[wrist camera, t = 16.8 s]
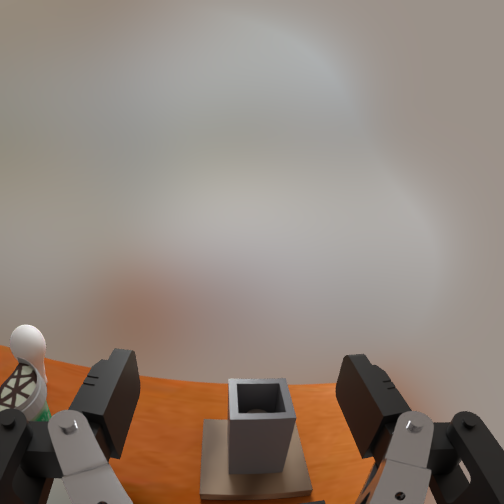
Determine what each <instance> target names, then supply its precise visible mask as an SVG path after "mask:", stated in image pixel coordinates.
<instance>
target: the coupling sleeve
mask: <svg viewBox="0 0 504 504" xmlns="http://www.w3.org/2000/svg"><path fill="white" fill-rule="evenodd" d="M252 409H261V410H264V411H266V412H267V413H247V412H248V411H250V410H252ZM295 421H296V415H295V411H294V407H293V404H292V400H291V396H290V393H289V389H288V385H287V382H286V379H285V378H280V379H229V383H228V425H227V444H228V472H229V474H263V473H280V472H283V468H284V465H285V461H286V457H287V453H288V450H289V446H290V442H291V438H292V434H293V429H294V425H295Z"/></svg>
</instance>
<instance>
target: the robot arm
mask: <svg viewBox="0 0 504 504" xmlns="http://www.w3.org/2000/svg"><path fill="white" fill-rule="evenodd" d="M139 395H140V379H139V374H138V367H137V361H136V356H135V352H134V351H133V350H124V349H114V350H113V352H112V354H111V355H110V357H109V359H108V360H100V361H99V362H98V363H96V364H95V365H94V366H92V368H91V370H90V372H89V373H88V375H87V377H86V378H85V380H84V382H83V384H82V386H81V387H80V389H79V391H78V393H77V395H76V396H75V398H74V400H73V402H72V404H71V406H70V407H69V409H68V410H63V411H60V412H58V413H56V414H54V415H53V416H52V417H51V418H50V420H49V421H28V420H27V418H26V416H25V415H24V413H23V412H21V411H20V410H18V409H13V408H10V409H5V410H2V411H0V504H46V503H47V500H48V496H49V493H50V489H51V487H52V484H53V480H54V478H62V480H63V483H64V486H65V488H66V491H67V493H68V495H69V498H70V500H71V502H72V504H133V503H132V501H131V500H130V498H129V497H128V495H127V493H126V492H125V490H124V489H123V487H122V485H121V484H120V482H119V480H118V479H117V477H116V475H115V473H114V472H113V470H112V468H111V466H110V465H109V463H108V462H109V459H110V457H111V458H116V459H120V457H121V454H122V450H123V447H124V443H125V440H126V437H127V434H128V430H129V427H130V424H131V421H132V417H133V414H134V411H135V408H136V405H137V402H138V399H139ZM336 398H337V401H338V403H339V405H340V408H341V410H342V412H343V414H344V417H345V419H346V421H347V424H348V426H349V428H350V431H351V433H352V435H353V438H354V440H355V442H356V445H357V447H358V449H359V452H360V454H361V457H362V459H363V458H368V457H374V459H375V462H374V464H373V466H372V468H371V470H370V473H369V475H368V477H367V479H366V482H365V484H364V486H363V488H362V490H361V492H360V495H359V497H358V499H357V501H356V502H355V504H424V501H425V497H426V493H427V489H428V485H429V487H430V489H431V492H432V494H433V496H434V498H435V500H436V503H437V504H504V450H503V449H502V448H501V446H500V445H499V443H498V442H497V440H496V439H495V438H494V436H493V435H492V434H491V432H490V431H489V429H488V428H487V427H486V425H485V424H484V423H483V421H482V420H481V419H480V417H478V416H477V415H476V414H473V413H471V412H467V411H465V412H464V411H463V412H459V413H457V414H456V415H455V416H454V417H453V419H452V421H451V422H449V423H433V422H432V420H431V419H430V418H429V417H428V416H427V415H425V414H423V413H421V412H417V411H412V410H411V409H410V408H409V406H408V404H407V403H406V402H405V400H404V399H403V397H402V396H401V394H400V393H399V391H398V390H397V389H396V388H395V385H394V384H393V382H391V379H390V378H389V376H388V375H387V374H386V372H385V371H384V370H382V369H381V368H379V367H378V366H376V365H372V364H371V363H370V361H369V360H368V359H367V357H366V356H365V355H364V354H356V355H346V356H345V357H344V358H343V362H342V366H341V369H340V373H339V377H338V381H337V384H336ZM461 460H462V461H463V463H464V465H465V466H466V468H467V470H468V471H469V473H470V476H471V482H470V484H469V482H468V480H467V478H466V476H465V475H464V473H463V471H462V469H461V468H460V466H459V463H460V462H461ZM301 504H325V501H324V500H323V501H316V502H309V503H301Z"/></svg>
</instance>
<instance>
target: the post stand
mask: <svg viewBox="0 0 504 504" xmlns="http://www.w3.org/2000/svg"><path fill="white" fill-rule="evenodd" d="M247 413H267V412H266V411H264V410H261V409H252V410H250V411H248V412H247ZM227 425H228V420H214V419H204V425H203V441H202V458H201V477H200V498H201V499H208V500H262V499H278V498H290V497H300V496H308V495H310V494H311V492H312V490H313V489H312V485H311V481H310V477H309V473H308V469H307V465H306V461H305V458H304V454H303V450H302V446H301V442H300V438H299V434H298V430H297V426H296V422H295V425H294V429H293V434H292V438H291V442H290V446H289V450H288V453H287V457H286V461H285V465H284V468H283V472H280V473H263V474H229V472H228V444H227Z"/></svg>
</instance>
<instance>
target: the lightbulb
mask: <svg viewBox="0 0 504 504" xmlns="http://www.w3.org/2000/svg"><path fill="white" fill-rule="evenodd" d="M10 348H11V351H12V353H13V355H14V357H15V358H16V359H17V360H18V358H17V357H20V358H23V359H25V360H27V361H29V362H30V363H31V364H32V365H33V366H34V367H35V368H36V369H37V370H38V372H39V373H40V375H41V377H42V378H43V380H44V382H45V384H47V378H46V375H45V367H44V356H45V351H46V343H45V339H44V337H43V335H42V334H41V332H40V331H39V330H38V329H36V328H35V327H34V326H31V325H21V326H19V327H17V328H16V329H15V330H14V331H13V333H12V334H11V338H10Z"/></svg>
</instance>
